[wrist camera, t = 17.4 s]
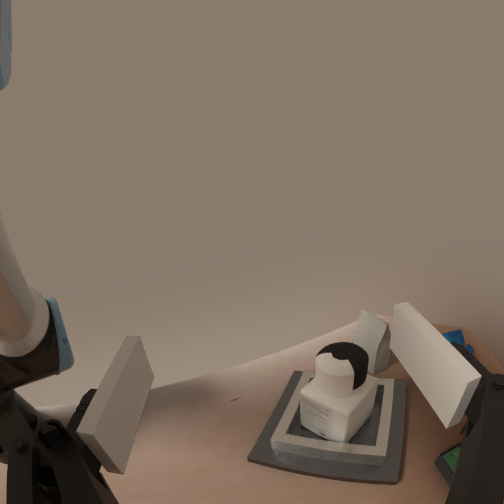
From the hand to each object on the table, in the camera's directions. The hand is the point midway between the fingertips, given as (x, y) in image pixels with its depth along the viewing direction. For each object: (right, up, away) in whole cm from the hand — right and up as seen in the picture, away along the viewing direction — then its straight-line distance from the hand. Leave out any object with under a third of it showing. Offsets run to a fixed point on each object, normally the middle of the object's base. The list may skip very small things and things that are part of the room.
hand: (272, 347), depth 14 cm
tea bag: (+21, -16, +35) cm, 44 cm away
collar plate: (+12, -21, +23) cm, 33 cm away
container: (+11, -20, +22) cm, 32 cm away
